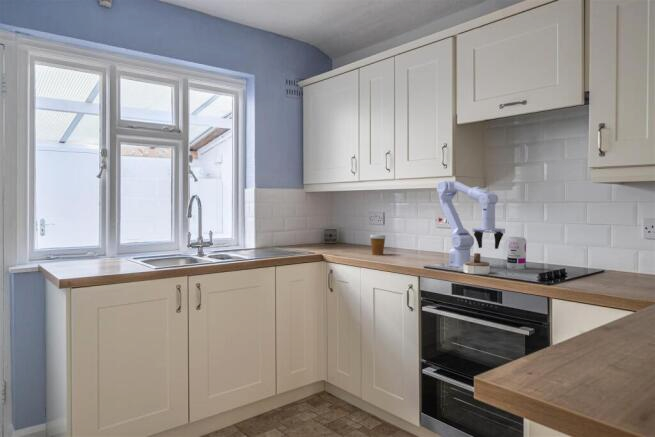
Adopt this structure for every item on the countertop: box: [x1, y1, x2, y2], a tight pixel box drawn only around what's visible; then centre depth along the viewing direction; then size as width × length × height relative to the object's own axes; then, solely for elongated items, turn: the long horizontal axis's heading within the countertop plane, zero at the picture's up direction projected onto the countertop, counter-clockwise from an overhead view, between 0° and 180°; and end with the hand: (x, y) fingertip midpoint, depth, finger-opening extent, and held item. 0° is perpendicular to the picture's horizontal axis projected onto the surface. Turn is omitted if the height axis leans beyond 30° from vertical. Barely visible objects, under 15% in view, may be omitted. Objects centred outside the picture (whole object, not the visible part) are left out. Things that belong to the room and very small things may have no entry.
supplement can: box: [506, 236, 527, 270], centre depth 219 cm, size 8×8×15 cm
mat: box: [490, 267, 521, 275], centre depth 211 cm, size 14×10×1 cm
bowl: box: [462, 264, 491, 275], centre depth 206 cm, size 11×11×4 cm
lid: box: [465, 252, 490, 266], centre depth 206 cm, size 10×10×5 cm
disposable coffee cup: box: [369, 233, 386, 256], centre depth 275 cm, size 10×10×12 cm
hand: (488, 248), depth 212 cm, fingers open, 7 cm apart
